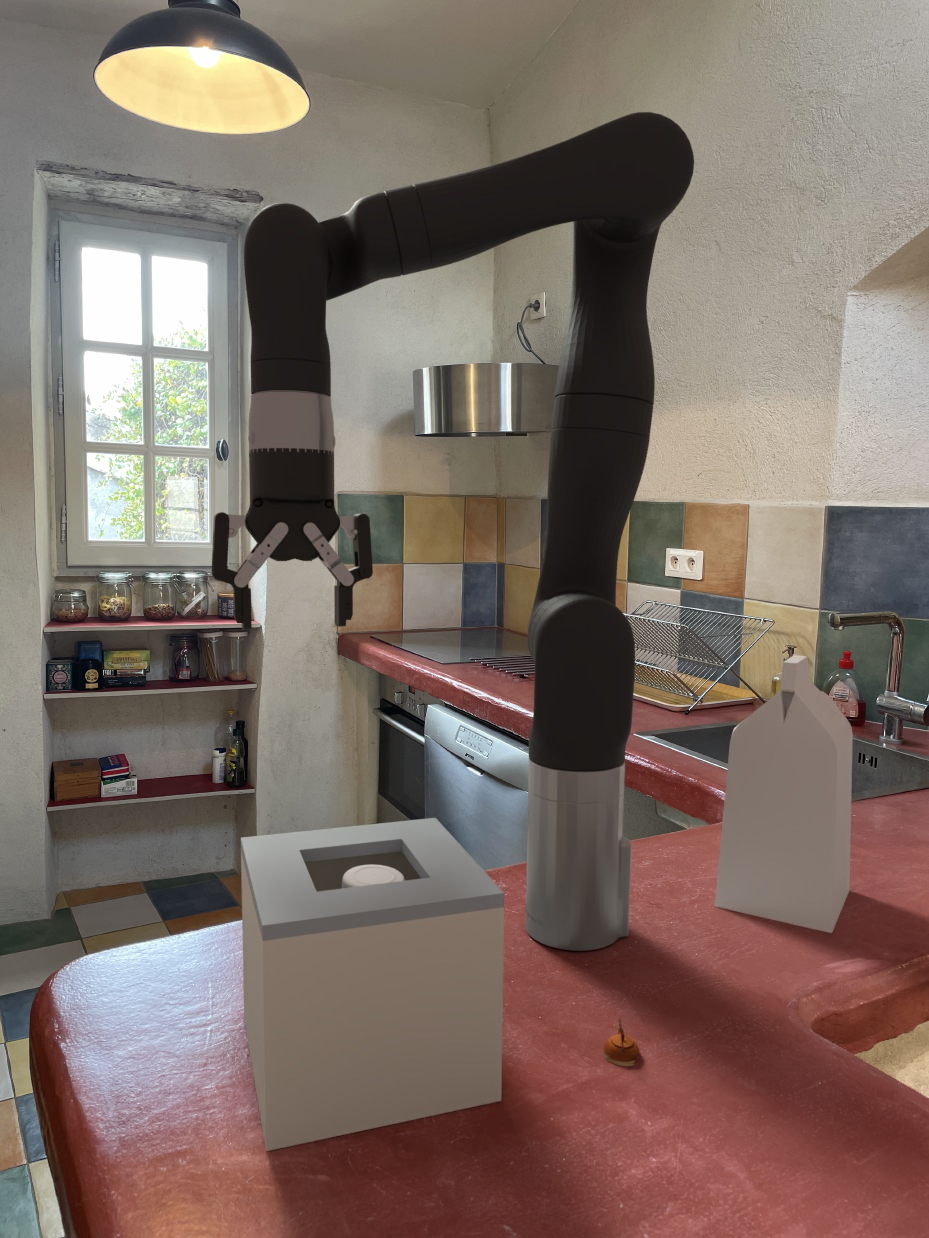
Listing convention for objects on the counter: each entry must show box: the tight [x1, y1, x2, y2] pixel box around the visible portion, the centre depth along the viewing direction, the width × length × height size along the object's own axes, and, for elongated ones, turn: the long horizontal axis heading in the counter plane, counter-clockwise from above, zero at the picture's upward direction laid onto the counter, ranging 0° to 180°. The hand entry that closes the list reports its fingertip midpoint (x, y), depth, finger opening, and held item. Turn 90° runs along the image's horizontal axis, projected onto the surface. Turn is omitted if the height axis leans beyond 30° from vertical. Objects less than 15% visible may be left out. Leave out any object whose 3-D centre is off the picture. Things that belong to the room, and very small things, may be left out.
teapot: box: [602, 1018, 641, 1067], centre depth 67 cm, size 3×3×3 cm
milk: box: [714, 654, 854, 934], centre depth 94 cm, size 12×12×26 cm
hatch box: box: [240, 817, 505, 1152], centre depth 66 cm, size 16×16×15 cm
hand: (294, 627), depth 81 cm, fingers open, 8 cm apart
